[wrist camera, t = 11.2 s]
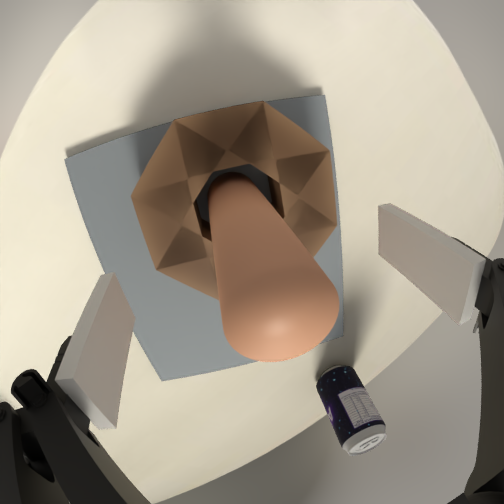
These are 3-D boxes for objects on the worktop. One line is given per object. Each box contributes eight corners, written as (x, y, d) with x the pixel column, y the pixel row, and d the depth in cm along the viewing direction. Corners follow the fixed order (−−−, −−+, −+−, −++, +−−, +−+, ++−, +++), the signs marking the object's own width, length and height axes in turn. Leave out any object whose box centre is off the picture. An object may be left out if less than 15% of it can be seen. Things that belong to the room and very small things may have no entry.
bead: (175, 287, 27) (173, 313, 23) (128, 134, 20) (114, 138, 17) (322, 250, 28) (340, 270, 24) (302, 97, 21) (321, 93, 18)
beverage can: (307, 376, 36) (339, 451, 25) (345, 354, 36) (385, 426, 25) (322, 393, 39) (352, 460, 28) (357, 374, 38) (393, 438, 27)
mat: (162, 377, 32) (161, 381, 32) (67, 158, 20) (64, 159, 20) (341, 332, 34) (343, 336, 33) (322, 95, 22) (324, 94, 21)
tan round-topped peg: (213, 224, 25) (237, 372, 10) (202, 178, 23) (208, 284, 9) (260, 213, 25) (339, 343, 11) (251, 166, 23) (337, 252, 9)
